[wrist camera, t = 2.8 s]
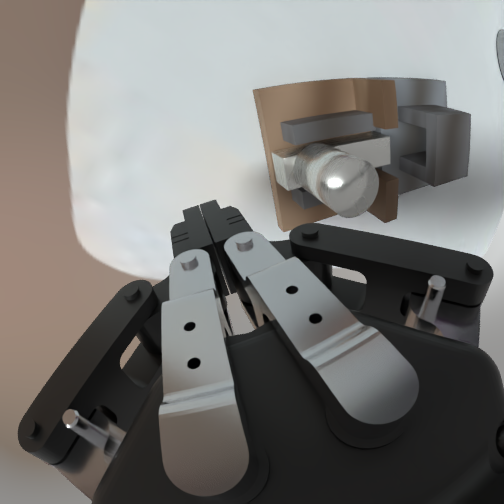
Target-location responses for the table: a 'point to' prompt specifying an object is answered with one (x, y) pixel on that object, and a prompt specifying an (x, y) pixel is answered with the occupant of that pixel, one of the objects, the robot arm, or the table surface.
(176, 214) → the table surface
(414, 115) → the plate
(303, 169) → the steel bolt
